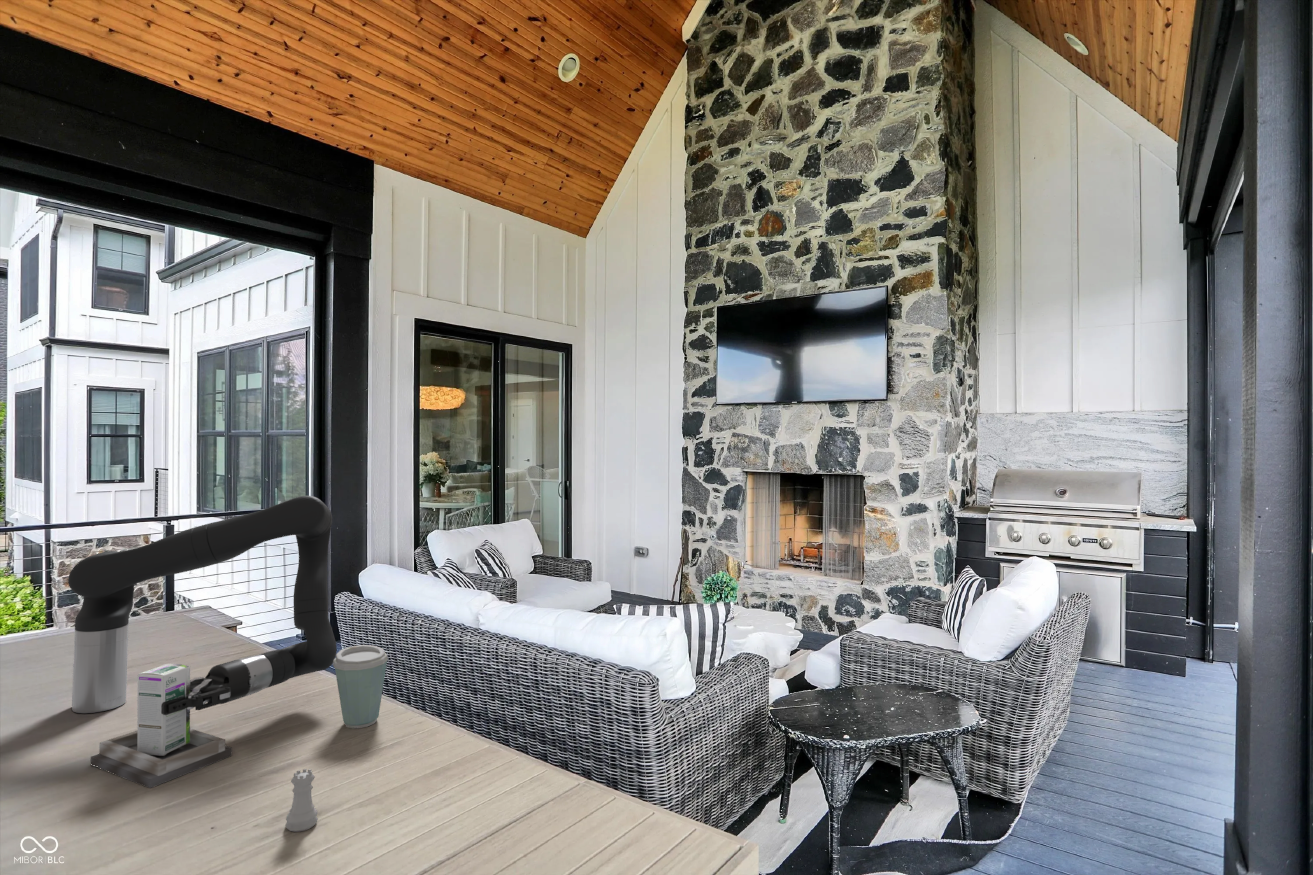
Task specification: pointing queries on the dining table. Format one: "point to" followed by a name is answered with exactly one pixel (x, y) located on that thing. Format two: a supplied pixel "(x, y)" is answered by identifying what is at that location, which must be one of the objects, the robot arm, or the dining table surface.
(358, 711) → the disposable coffee cup
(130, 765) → the shallow rectangular tray
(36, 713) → the dining table surface
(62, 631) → the dining table surface
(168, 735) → the syrup box
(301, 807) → the rook chess piece
